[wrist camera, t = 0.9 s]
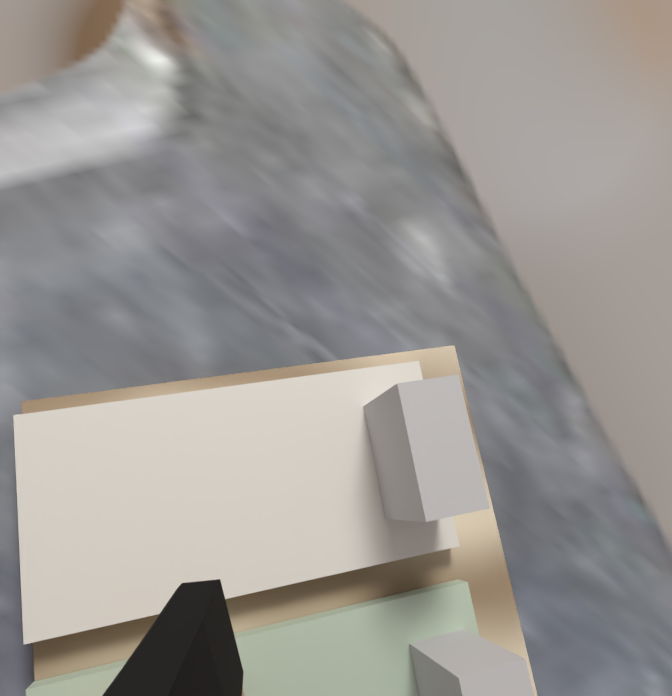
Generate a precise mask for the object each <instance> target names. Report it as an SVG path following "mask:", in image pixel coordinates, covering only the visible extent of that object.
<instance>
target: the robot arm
mask: <svg viewBox="0 0 672 696" xmlns="http://www.w3.org/2000/svg"><path fill="white" fill-rule="evenodd" d="M243 673H244V672H243V668H242V664H241V660H240V656H239V652H238V648H237V644H236V640H235V636H234V632H233V628H232V624H231V620H230V616H229V612H228V608H227V604H226V600H225V596H224V592H223V589H222V585H221V581H220V579H217V580H207V581H197V582H187V583H182V584H181V585H180V586H179V587H178V588H177V589H176V591H175V592H174V594H173V595H172V597H171V598H170V599H169V601H168V602H167V604H166V605H165V607H164V608H163V610H162V611H161V613H160V614H159V616H158V617H157V619H156V620H155V622H154V623H153V624H152V626H151V627H150V629H149V630H148V632H147V633H146V635H145V636H144V638H143V639H142V641H141V642H140V643H139V645H138V646H137V648H136V649H135V651H134V652H133V653H132V655H131V656H130V658H129V659H128V661H127V662H126V663H125V665H124V666H123V668H122V669H121V671H120V672H119V673H118V675H117V676H116V677H115V679H114V680H113V682H112V683H111V684H110V686H109V687H108V688H107V690H106V691H105V693H104V694H103V695H102V696H242V686H243Z"/></svg>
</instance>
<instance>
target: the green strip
mask: <svg viewBox="0 0 672 696" xmlns="http://www.w3.org/2000/svg"><path fill="white" fill-rule="evenodd" d="M234 636H235V640H236V644H237V648H238V652H239V656H240V660H241V664H242V668H243V672H244V673H243V692H244V696H534V692H533V688H532V684H531V680H530V675H529V671H528V667H527V663H526V659H525V658H523V657H521V656H519V655H517V654H515V653H513V652H511V651H509V650H507V649H505V648H503V647H500V646H498V645H496V644H494V643H492V642H490V641H488V640H486V639H484V638H482V637H480V635H479V631H478V626H477V622H476V617H475V613H474V608H473V604H472V599H471V595H470V590H469V586H468V582H466V581H463V580H459V579H457V580H453V581H449V582H445V583H441V584H436V585H432V586H428V587H424V588H420V589H416V590H412V591H407V592H403V593H399V594H395V595H391V596H387V597H383V598H378V599H374V600H370V601H366V602H362V603H358V604H354V605H349V606H345V607H341V608H337V609H333V610H329V611H325V612H320V613H316V614H312V615H308V616H304V617H300V618H296V619H291V620H287V621H283V622H279V623H275V624H271V625H267V626H262V627H258V628H254V629H250V630H246V631H242V632H238V633H234ZM127 661H128V659H126V660H122V661H117V662H113V663H109V664H105V665H101V666H97V667H93V668H88V669H84V670H80V671H76V672H72V673H68V674H64V675H59V676H55V677H51V678H47V679H43V680H39V681H35V682H33V683H32V684H31V685H30V686H29V687H28V688H27V689H26V696H102V695H103V694H104V693H105V691H106V690H107V688H108V687H109V686H110V684H111V683H112V682H113V680H114V679H115V677H116V676H117V675H118V673H119V672H120V671H121V669H122V668H123V666H124V665H125V663H126V662H127Z"/></svg>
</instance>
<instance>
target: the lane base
mask: <svg viewBox="0 0 672 696" xmlns="http://www.w3.org/2000/svg"><path fill="white" fill-rule="evenodd" d="M413 361H419V363H420V368H421V372H422V377H423V380H424V379H431V378H438V377H445V376H452V375H459V379H460V383H461V387H462V392H463V396H464V400H465V404H466V409H467V413H468V417H469V421H470V425H471V430H472V434H473V438H474V442H475V447H476V451H477V455H478V459H479V464H480V468H481V472H482V476H483V481H484V485H485V489H486V493H487V498H488V502H489V506H490V509H485V510H480V511H476V512H471V513H466V514H461V515H457V516H453V517H454V522H455V527H456V531H457V536H458V540H459V545H460V546H458V547H454V548H449V549H445V550H441V551H436V552H432V553H427V554H423V555H418V556H414V557H410V558H405V559H401V560H396V561H392V562H387V563H383V564H379V565H374V566H370V567H365V568H361V569H356V570H352V571H348V572H343V573H339V574H334V575H330V576H325V577H321V578H317V579H312V580H308V581H303V582H299V583H294V584H290V585H286V586H281V587H277V588H272V589H268V590H263V591H259V592H255V593H250V594H246V595H241V596H237V597H232V598H228V599H225V600H226V604H227V608H228V612H229V616H230V620H231V624H232V628H233V632H234V633H238V632H242V631H246V630H250V629H254V628H258V627H262V626H267V625H271V624H275V623H279V622H283V621H287V620H291V619H296V618H300V617H304V616H308V615H312V614H316V613H320V612H325V611H329V610H333V609H337V608H341V607H345V606H349V605H354V604H358V603H362V602H366V601H370V600H374V599H378V598H383V597H387V596H391V595H395V594H399V593H403V592H407V591H412V590H416V589H420V588H424V587H428V586H432V585H436V584H441V583H445V582H449V581H453V580H457V579H459V580H463V581H466V582H468V586H469V590H470V595H471V599H472V604H473V608H474V613H475V617H476V622H477V626H478V631H479V635H480V637H482V638H484V639H486V640H488V641H490V642H492V643H494V644H496V645H498V646H500V647H503V648H505V649H507V650H509V651H511V652H513V653H515V654H517V655H519V656H521V657H523V658H525V659H526V663H527V667H528V671H529V675H530V680H531V684H532V688H533V692H534V696H537V692H536V688H535V684H534V680H533V675H532V671H531V667H530V663H529V658H528V654H527V650H526V646H525V642H524V637H523V633H522V629H521V625H520V621H519V616H518V612H517V608H516V604H515V599H514V595H513V591H512V587H511V583H510V578H509V574H508V570H507V566H506V561H505V557H504V553H503V549H502V545H501V540H500V536H499V532H498V528H497V524H496V519H495V515H494V511H493V507H492V502H491V498H490V494H489V490H488V486H487V481H486V477H485V473H484V469H483V465H482V460H481V456H480V452H479V448H478V443H477V439H476V435H475V431H474V427H473V422H472V418H471V414H470V410H469V405H468V401H467V397H466V393H465V389H464V384H463V380H462V376H461V372H460V368H459V363H458V359H457V355H456V351H455V346H446V347H438V348H431V349H423V350H415V351H408V352H400V353H392V354H384V355H377V356H369V357H361V358H354V359H346V360H338V361H331V362H323V363H315V364H307V365H300V366H292V367H284V368H277V369H269V370H261V371H254V372H246V373H238V374H230V375H223V376H215V377H207V378H200V379H192V380H184V381H176V382H169V383H161V384H153V385H146V386H138V387H130V388H123V389H115V390H107V391H99V392H92V393H84V394H76V395H69V396H61V397H53V398H46V399H38V400H30V401H22V402H21V407H22V414H27V413H34V412H42V411H49V410H56V409H64V408H71V407H79V406H86V405H94V404H101V403H108V402H116V401H123V400H131V399H138V398H146V397H153V396H160V395H168V394H175V393H183V392H190V391H197V390H205V389H212V388H220V387H227V386H235V385H242V384H249V383H257V382H264V381H272V380H279V379H286V378H294V377H301V376H309V375H316V374H324V373H331V372H338V371H346V370H353V369H361V368H368V367H376V366H383V365H390V364H398V363H405V362H413ZM158 616H159V614H157V615H153V616H148V617H144V618H139V619H135V620H131V621H126V622H122V623H117V624H113V625H108V626H104V627H100V628H95V629H91V630H86V631H82V632H77V633H73V634H69V635H64V636H60V637H55V638H51V639H46V640H42V641H38V642H33V658H34V679H35V681H39V680H43V679H47V678H51V677H55V676H59V675H64V674H68V673H72V672H76V671H80V670H84V669H88V668H93V667H97V666H101V665H105V664H109V663H113V662H117V661H122V660H126V659H129V658H130V656H131V655H132V653H133V652H134V651H135V649H136V648H137V646H138V645H139V643H140V642H141V641H142V639H143V638H144V636H145V635H146V633H147V632H148V630H149V629H150V627H151V626H152V624H153V623H154V622H155V620H156V619H157V617H158Z"/></svg>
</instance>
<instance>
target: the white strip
mask: <svg viewBox="0 0 672 696" xmlns="http://www.w3.org/2000/svg"><path fill="white" fill-rule="evenodd" d="M14 437H15V460H16V482H17V505H18V528H19V550H20V573H21V596H22V618H23V641H24V644H29V643H33V642H38V641H42V640H46V639H51V638H55V637H60V636H64V635H69V634H73V633H77V632H82V631H86V630H91V629H95V628H100V627H104V626H108V625H113V624H117V623H122V622H126V621H131V620H135V619H139V618H144V617H148V616H153V615H157V614H160V613H161V611H162V610H163V608H164V607H165V605H166V604H167V602H168V601H169V599H170V598H171V597H172V595H173V594H174V592H175V591H176V589H177V588H178V587H179V586H180V585H181V584H182V583H187V582H197V581H207V580H217V579H220V581H221V585H222V589H223V592H224V596H225V599H228V598H232V597H237V596H241V595H246V594H250V593H255V592H259V591H263V590H268V589H272V588H277V587H281V586H286V585H290V584H294V583H299V582H303V581H308V580H312V579H317V578H321V577H325V576H330V575H334V574H339V573H343V572H348V571H352V570H356V569H361V568H365V567H370V566H374V565H379V564H383V563H387V562H392V561H396V560H401V559H405V558H410V557H414V556H418V555H423V554H427V553H432V552H436V551H441V550H445V549H449V548H454V547H458V546H460V545H459V540H458V536H457V531H456V527H455V522H454V517H453V516H457V515H461V514H466V513H471V512H476V511H480V510H485V509H490V506H489V502H488V498H487V493H486V489H485V485H484V481H483V476H482V472H481V468H480V464H479V459H478V455H477V451H476V447H475V442H474V438H473V434H472V430H471V425H470V421H469V417H468V413H467V409H466V404H465V400H464V396H463V392H462V387H461V383H460V379H459V375H452V376H445V377H438V378H431V379H424V380H423V377H422V372H421V368H420V363H419V361H413V362H405V363H398V364H390V365H383V366H376V367H368V368H361V369H353V370H346V371H338V372H331V373H324V374H316V375H309V376H301V377H294V378H286V379H279V380H272V381H264V382H257V383H249V384H242V385H235V386H227V387H220V388H212V389H205V390H197V391H190V392H183V393H175V394H168V395H160V396H153V397H146V398H138V399H131V400H123V401H116V402H108V403H101V404H94V405H86V406H79V407H71V408H64V409H56V410H49V411H42V412H34V413H27V414H19V415H14Z"/></svg>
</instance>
